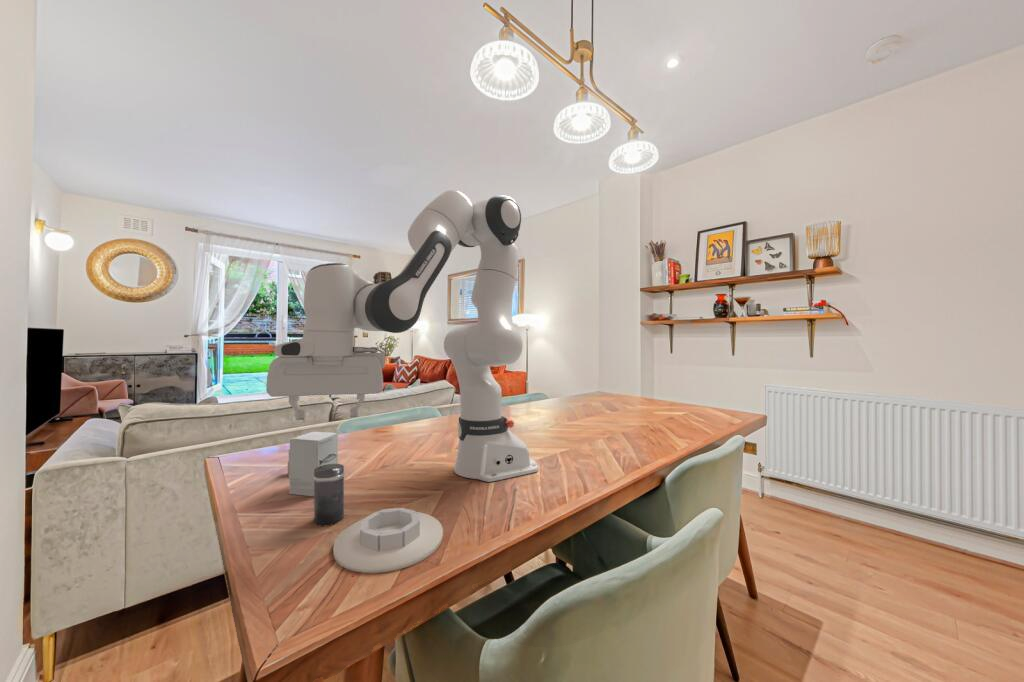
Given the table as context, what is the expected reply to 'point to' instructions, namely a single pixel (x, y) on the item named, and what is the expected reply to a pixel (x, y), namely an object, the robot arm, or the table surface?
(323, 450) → the supplement box
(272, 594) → the table surface
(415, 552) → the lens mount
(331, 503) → the lens
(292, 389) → the robot arm
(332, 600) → the table surface
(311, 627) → the table surface
